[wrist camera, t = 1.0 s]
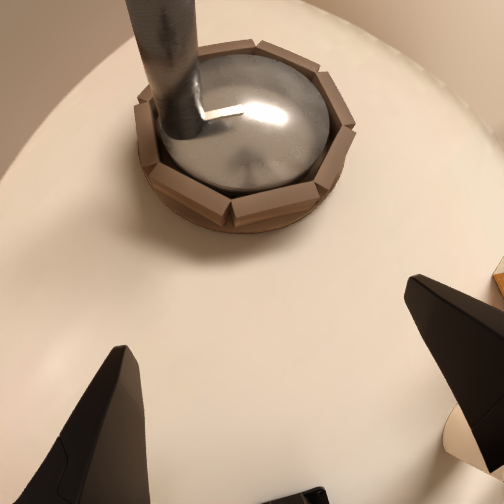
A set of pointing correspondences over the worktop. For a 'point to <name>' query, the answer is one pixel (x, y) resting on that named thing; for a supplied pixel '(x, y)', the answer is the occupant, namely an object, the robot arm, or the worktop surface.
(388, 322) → the worktop surface
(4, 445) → the worktop surface
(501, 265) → the small box
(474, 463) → the cylindrical container
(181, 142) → the dial
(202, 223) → the dial housing
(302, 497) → the robot arm
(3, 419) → the worktop surface
